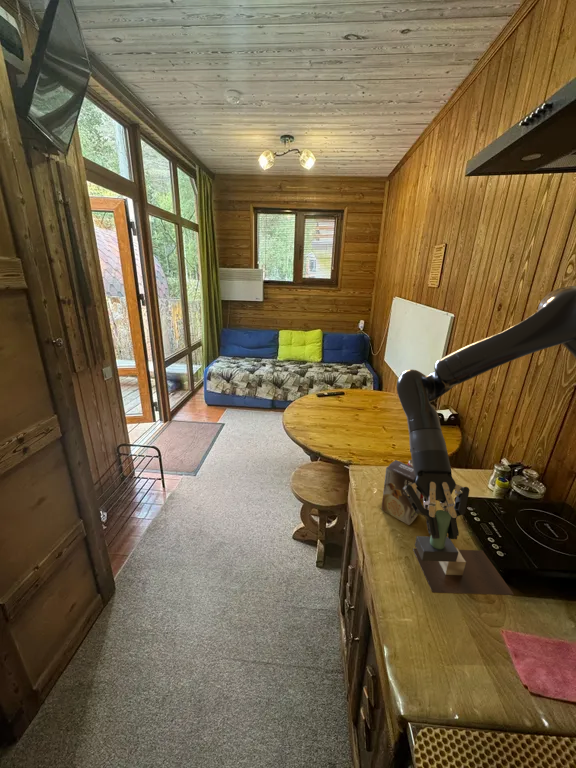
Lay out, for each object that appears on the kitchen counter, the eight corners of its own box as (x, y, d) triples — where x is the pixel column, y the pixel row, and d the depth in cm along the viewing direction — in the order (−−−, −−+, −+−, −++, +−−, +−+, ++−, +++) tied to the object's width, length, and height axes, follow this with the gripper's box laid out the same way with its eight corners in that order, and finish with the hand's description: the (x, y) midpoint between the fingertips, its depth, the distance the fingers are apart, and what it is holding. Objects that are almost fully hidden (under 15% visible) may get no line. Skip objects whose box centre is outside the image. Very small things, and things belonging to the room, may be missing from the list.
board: (481, 554, 79) (482, 550, 79) (513, 599, 68) (514, 594, 67) (411, 552, 80) (412, 548, 79) (431, 597, 68) (432, 592, 68)
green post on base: (414, 545, 67) (421, 507, 64) (446, 546, 67) (455, 508, 64) (422, 560, 63) (430, 521, 60) (456, 561, 63) (466, 522, 60)
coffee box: (418, 518, 92) (426, 472, 87) (408, 529, 87) (416, 481, 82) (389, 503, 98) (395, 459, 93) (379, 513, 93) (385, 467, 89)
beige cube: (454, 560, 76) (457, 548, 74) (462, 575, 72) (466, 562, 71) (437, 560, 76) (440, 547, 75) (445, 574, 72) (448, 561, 71)
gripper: (403, 447, 66) (416, 537, 58) (468, 449, 65) (491, 539, 58) (392, 455, 72) (402, 538, 64) (452, 457, 72) (469, 539, 64)
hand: (444, 538), depth 61 cm, fingers closed on green post on base, 3 cm apart
